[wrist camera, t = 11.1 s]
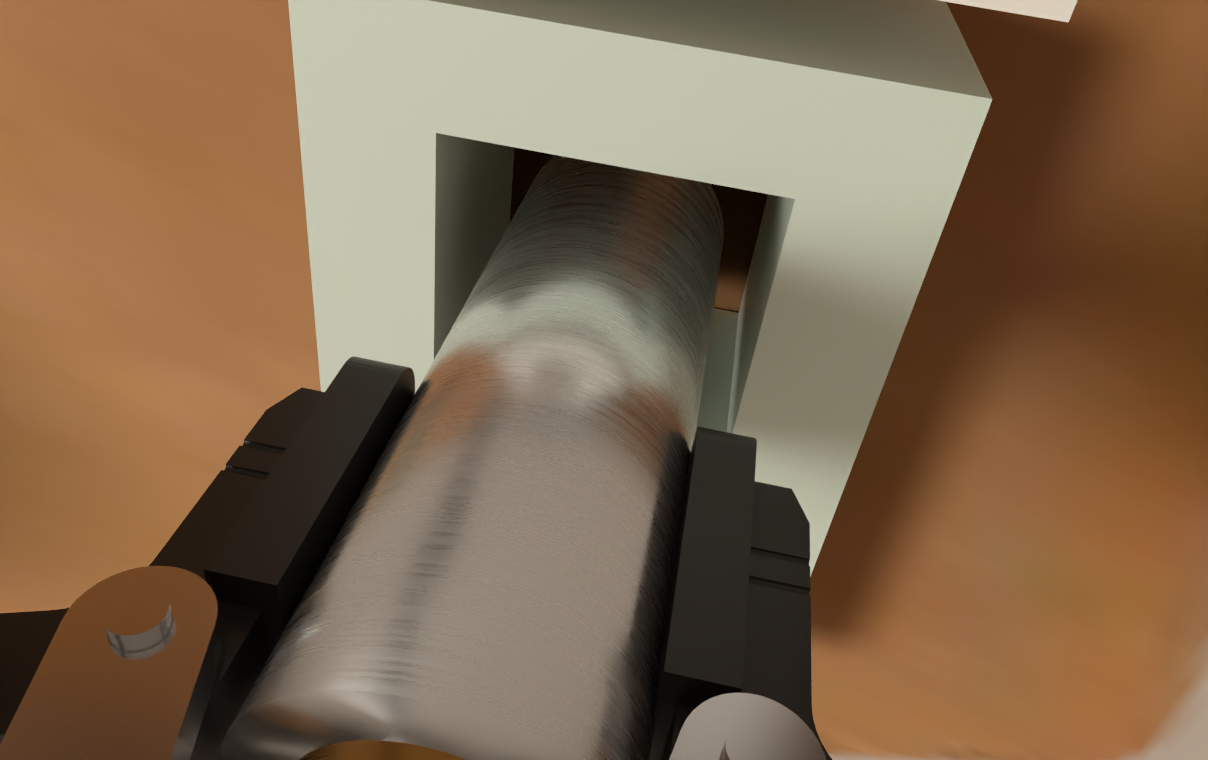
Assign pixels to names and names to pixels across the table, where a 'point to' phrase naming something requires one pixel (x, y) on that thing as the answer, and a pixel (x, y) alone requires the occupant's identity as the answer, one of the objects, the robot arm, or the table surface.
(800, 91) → the rack
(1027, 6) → the socket block
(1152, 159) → the table surface
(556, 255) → the silver battery cell
